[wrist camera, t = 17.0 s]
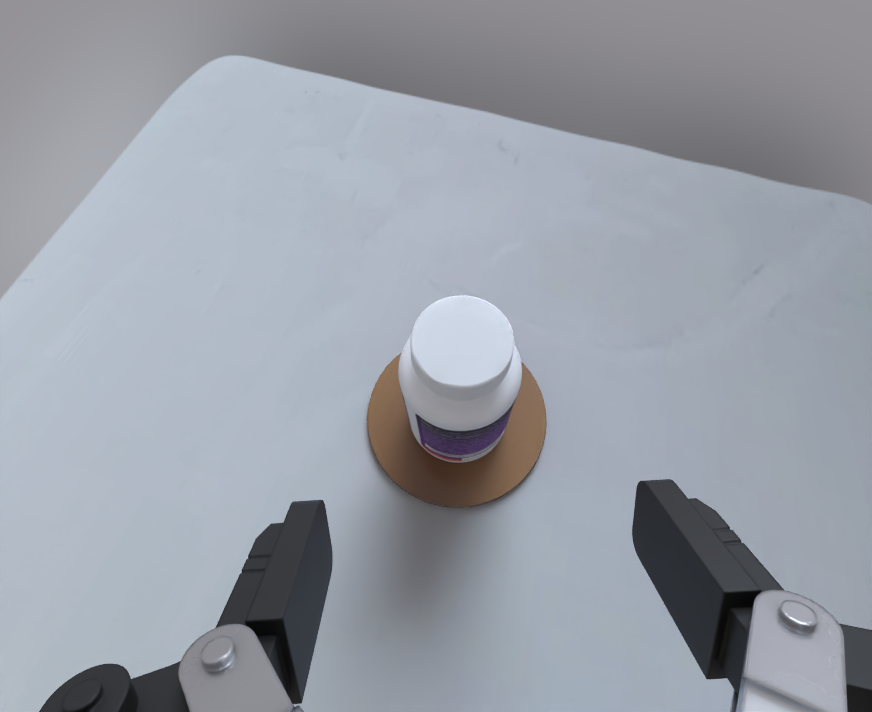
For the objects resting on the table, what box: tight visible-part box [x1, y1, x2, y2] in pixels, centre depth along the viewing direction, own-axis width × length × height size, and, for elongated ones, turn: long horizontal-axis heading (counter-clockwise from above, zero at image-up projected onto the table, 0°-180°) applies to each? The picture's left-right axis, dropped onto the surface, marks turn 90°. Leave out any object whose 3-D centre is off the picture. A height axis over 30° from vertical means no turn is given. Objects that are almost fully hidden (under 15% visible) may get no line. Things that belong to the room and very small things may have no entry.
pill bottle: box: [398, 295, 522, 463], centre depth 23 cm, size 5×5×10 cm
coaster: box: [368, 354, 546, 507], centre depth 28 cm, size 10×10×1 cm
